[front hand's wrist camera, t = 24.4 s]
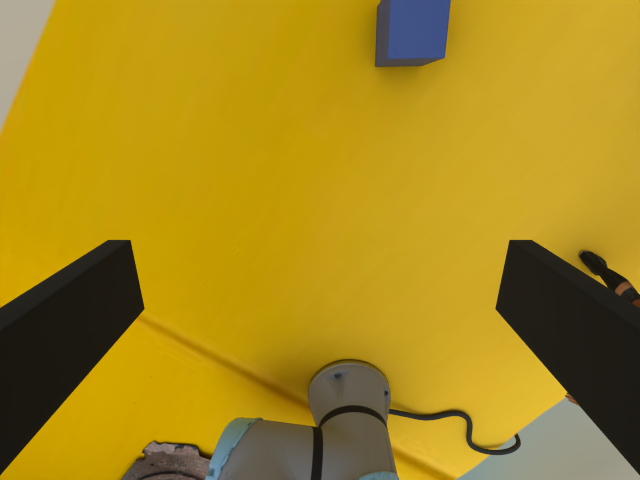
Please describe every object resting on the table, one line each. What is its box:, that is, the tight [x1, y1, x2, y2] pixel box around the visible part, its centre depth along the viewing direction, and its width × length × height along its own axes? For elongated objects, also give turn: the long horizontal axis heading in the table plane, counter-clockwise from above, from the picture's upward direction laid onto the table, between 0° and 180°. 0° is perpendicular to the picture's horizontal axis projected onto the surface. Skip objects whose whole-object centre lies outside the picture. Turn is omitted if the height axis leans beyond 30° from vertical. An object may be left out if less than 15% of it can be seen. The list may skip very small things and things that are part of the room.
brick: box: [375, 0, 451, 67], centre depth 40 cm, size 6×7×9 cm
